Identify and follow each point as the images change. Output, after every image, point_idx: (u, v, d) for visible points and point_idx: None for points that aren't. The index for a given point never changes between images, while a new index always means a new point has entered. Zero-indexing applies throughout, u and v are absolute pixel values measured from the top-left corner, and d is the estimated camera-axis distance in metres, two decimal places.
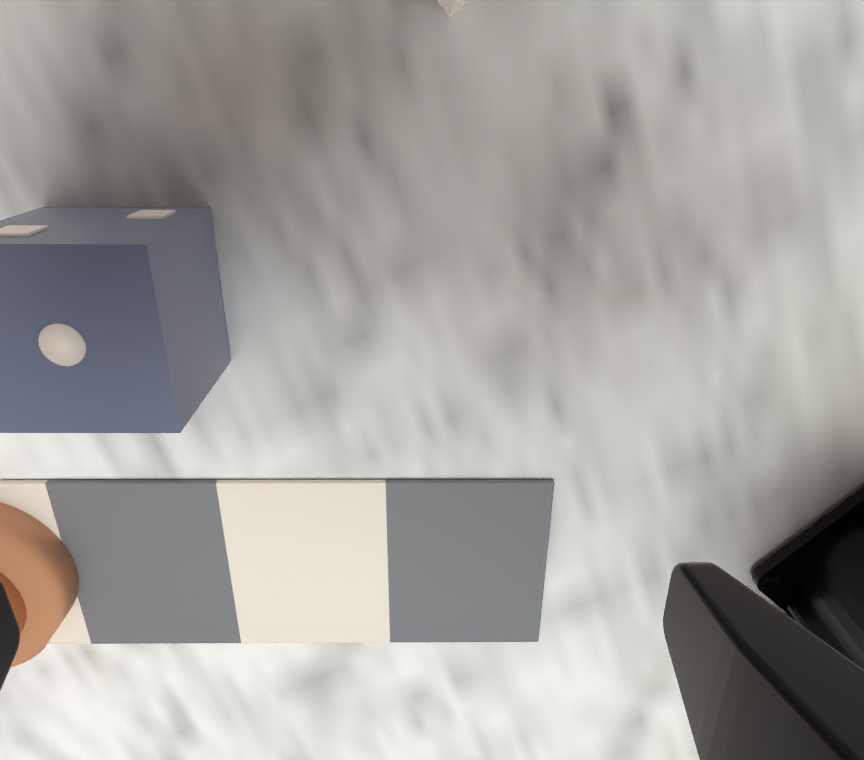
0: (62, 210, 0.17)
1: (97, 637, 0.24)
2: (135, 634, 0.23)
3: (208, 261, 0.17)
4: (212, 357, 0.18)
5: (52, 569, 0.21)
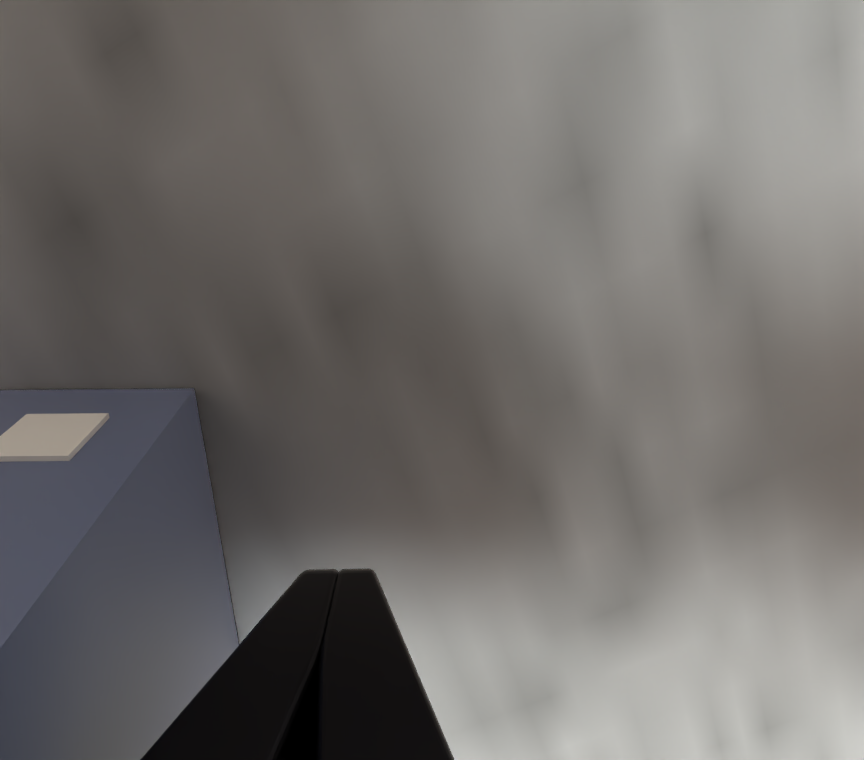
0: None
1: None
2: None
3: (188, 516, 0.08)
4: None
5: None
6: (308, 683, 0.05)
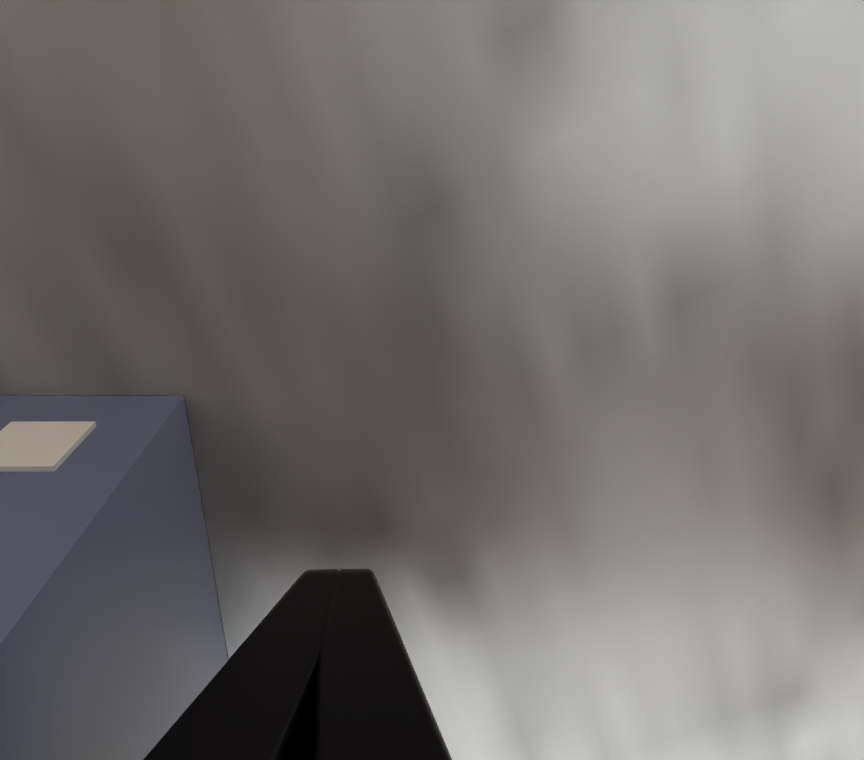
0: None
1: None
2: None
3: (176, 526, 0.08)
4: None
5: None
6: (310, 683, 0.05)
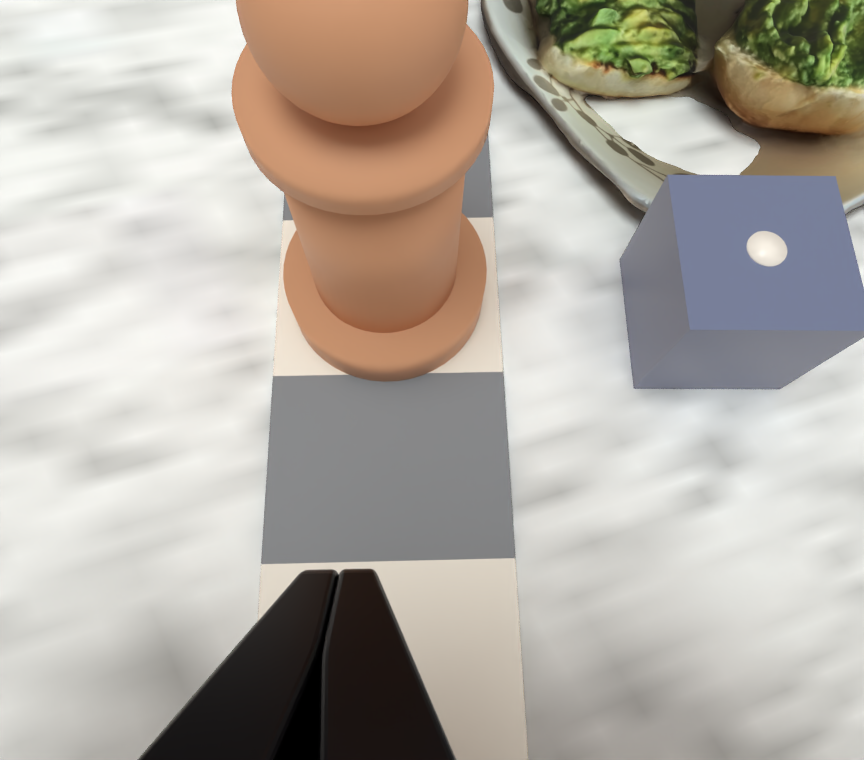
0: None
1: (281, 384, 0.19)
2: (285, 430, 0.19)
3: (749, 381, 0.19)
4: (675, 371, 0.18)
5: (415, 365, 0.19)
6: (306, 684, 0.05)
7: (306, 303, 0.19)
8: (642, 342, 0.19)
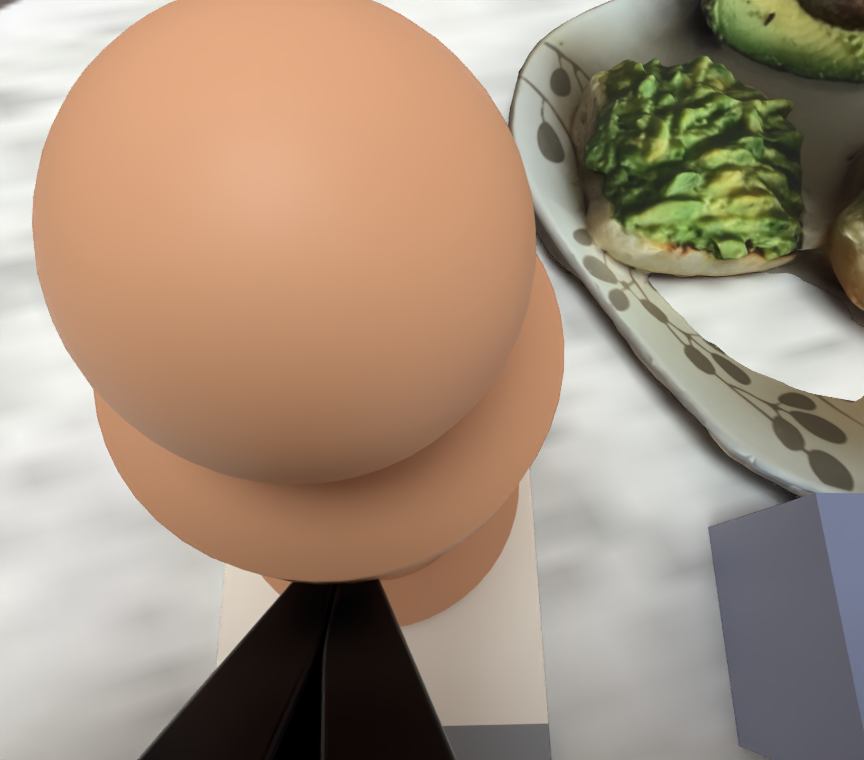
0: None
1: None
2: None
3: None
4: None
5: None
6: (305, 683, 0.05)
7: None
8: (757, 698, 0.13)
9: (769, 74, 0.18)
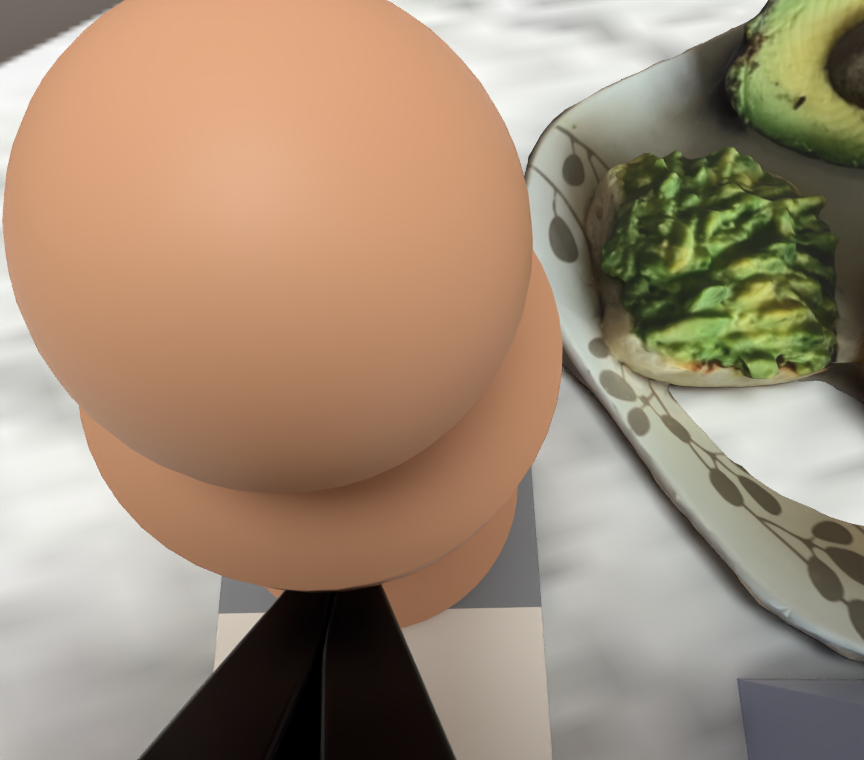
0: None
1: None
2: None
3: None
4: None
5: None
6: (305, 683, 0.05)
7: None
8: None
9: (798, 160, 0.17)
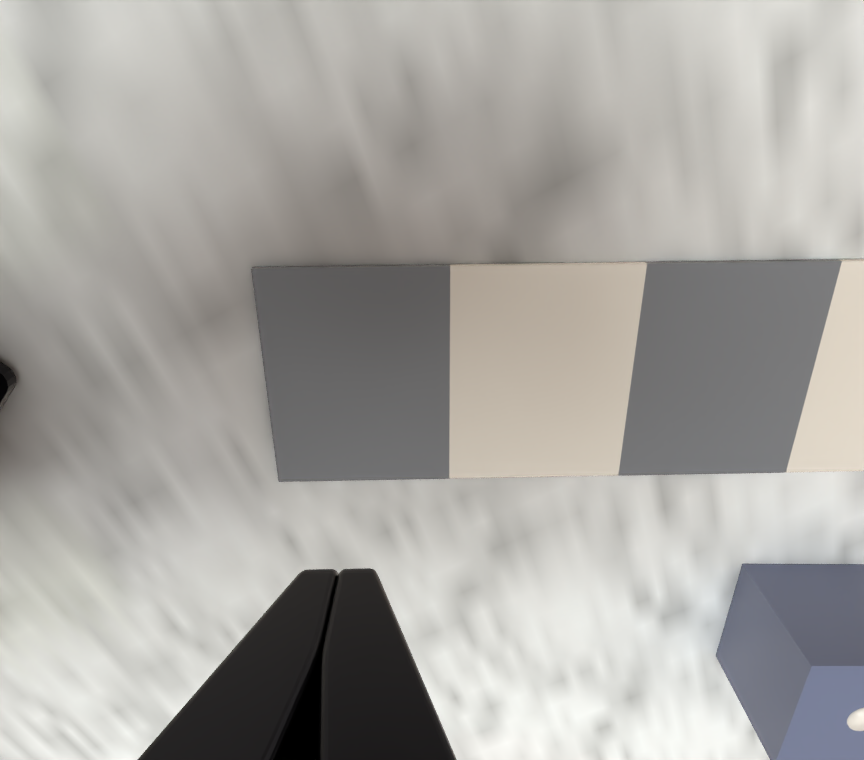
0: None
1: (829, 271, 0.18)
2: (778, 278, 0.18)
3: (732, 646, 0.24)
4: (758, 611, 0.22)
5: None
6: (306, 683, 0.05)
7: None
8: (787, 587, 0.22)
9: None
